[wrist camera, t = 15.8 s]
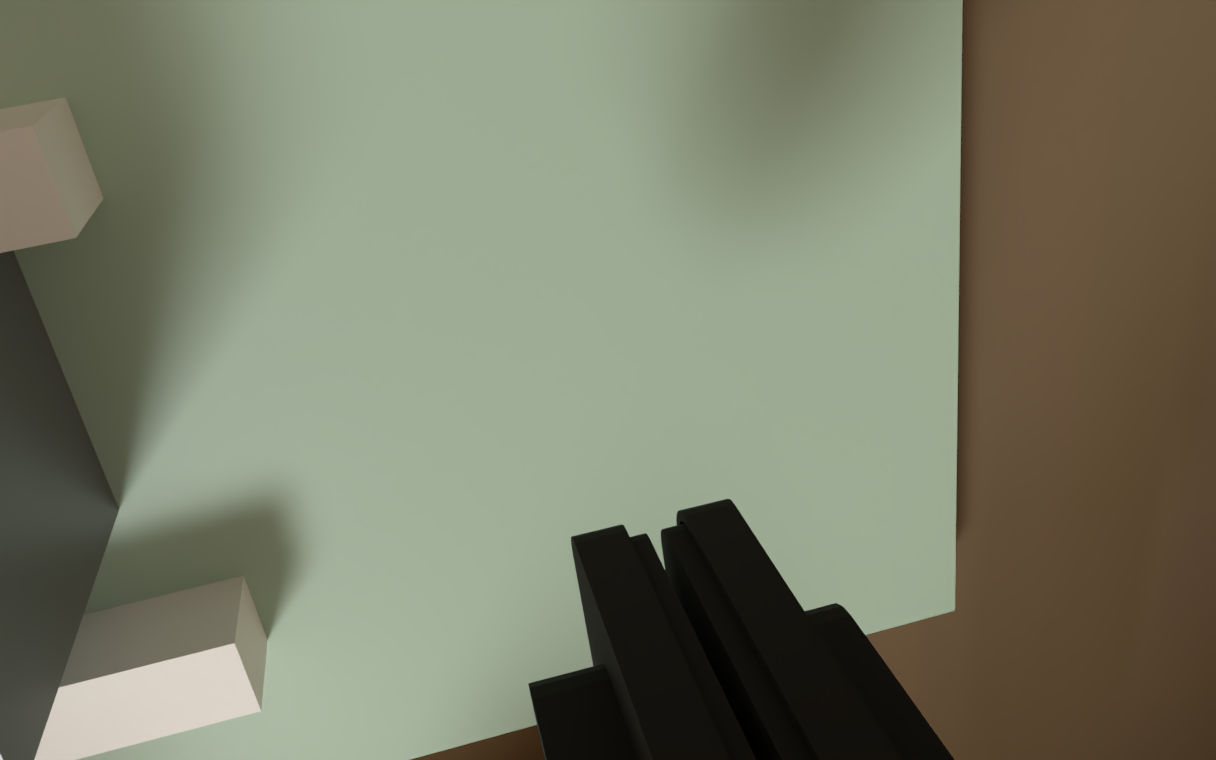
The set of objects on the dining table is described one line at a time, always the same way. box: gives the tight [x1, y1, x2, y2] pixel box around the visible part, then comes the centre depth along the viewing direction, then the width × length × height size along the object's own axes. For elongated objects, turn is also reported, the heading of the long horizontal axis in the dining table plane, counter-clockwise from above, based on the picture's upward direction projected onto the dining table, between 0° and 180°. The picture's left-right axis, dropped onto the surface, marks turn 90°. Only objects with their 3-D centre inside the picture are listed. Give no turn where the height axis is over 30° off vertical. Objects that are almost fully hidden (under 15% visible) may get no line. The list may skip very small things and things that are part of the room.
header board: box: [0, 0, 963, 760], centre depth 13 cm, size 14×20×5 cm
